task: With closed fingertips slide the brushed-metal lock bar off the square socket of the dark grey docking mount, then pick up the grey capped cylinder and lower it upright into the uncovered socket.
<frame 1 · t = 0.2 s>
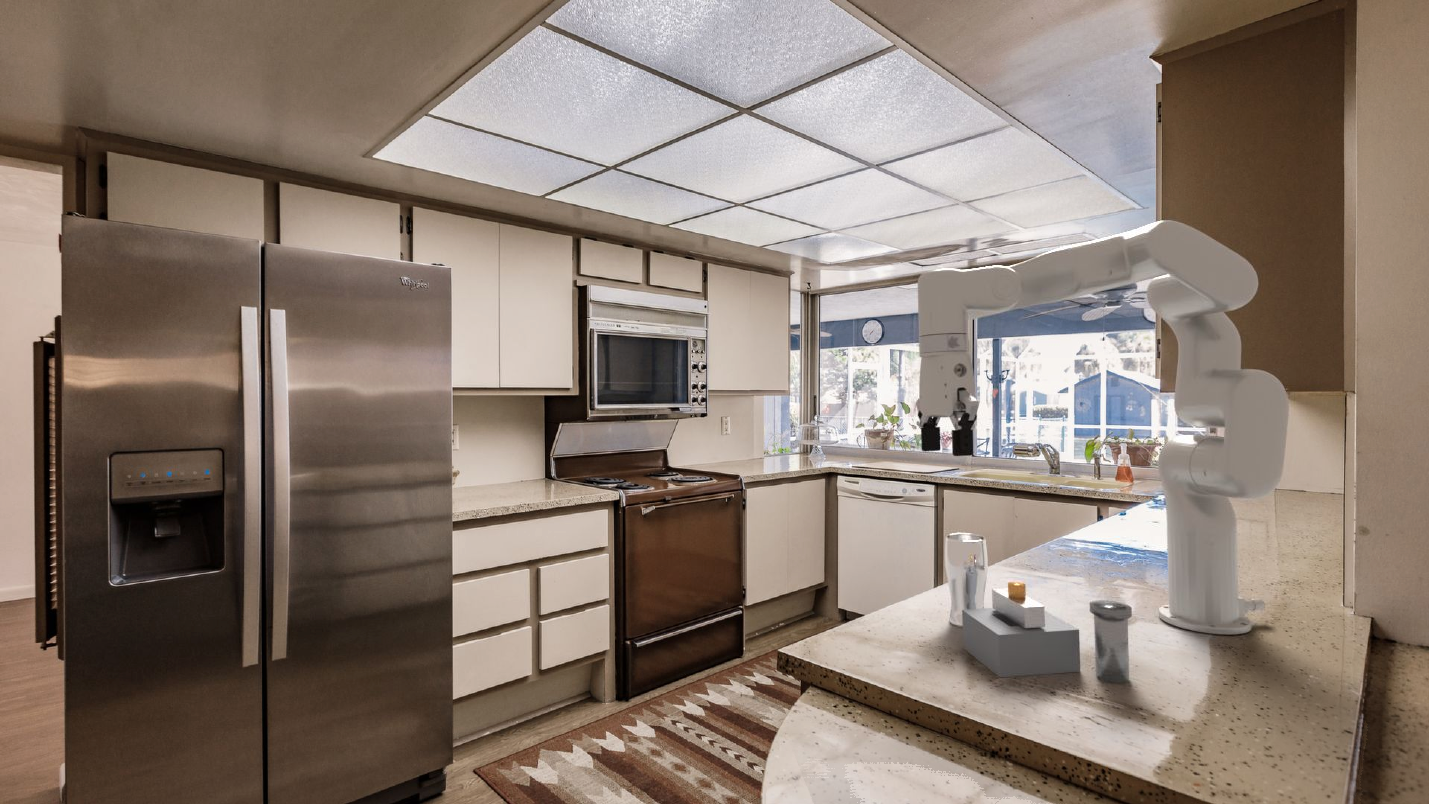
hand: (946, 453, 106), 31 cm above the worktop, fingers open, 9 cm apart
mount: (1018, 659, 98), on the worktop
grey capped cylinder: (1112, 677, 91), on the worktop
beer glass: (968, 623, 114), on the worktop
lock bar: (1017, 600, 98), point 9 cm above the worktop, slide at 0.0 cm
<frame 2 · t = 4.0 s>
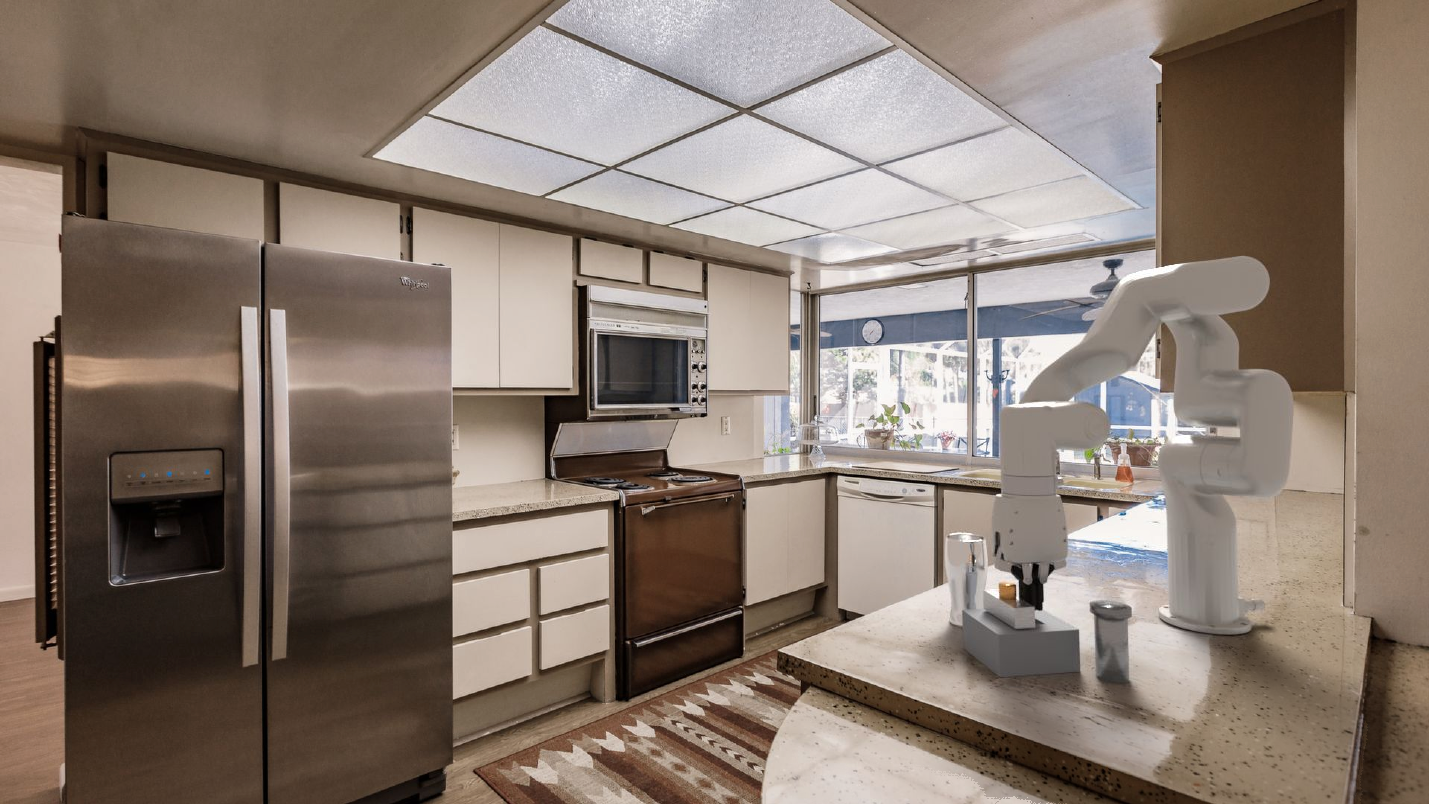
hand: (1031, 607, 98), 8 cm above the worktop, fingers closed
lock bar: (1007, 601, 98), point 9 cm above the worktop, slide at 1.5 cm, touching gripper
everything else where it was.
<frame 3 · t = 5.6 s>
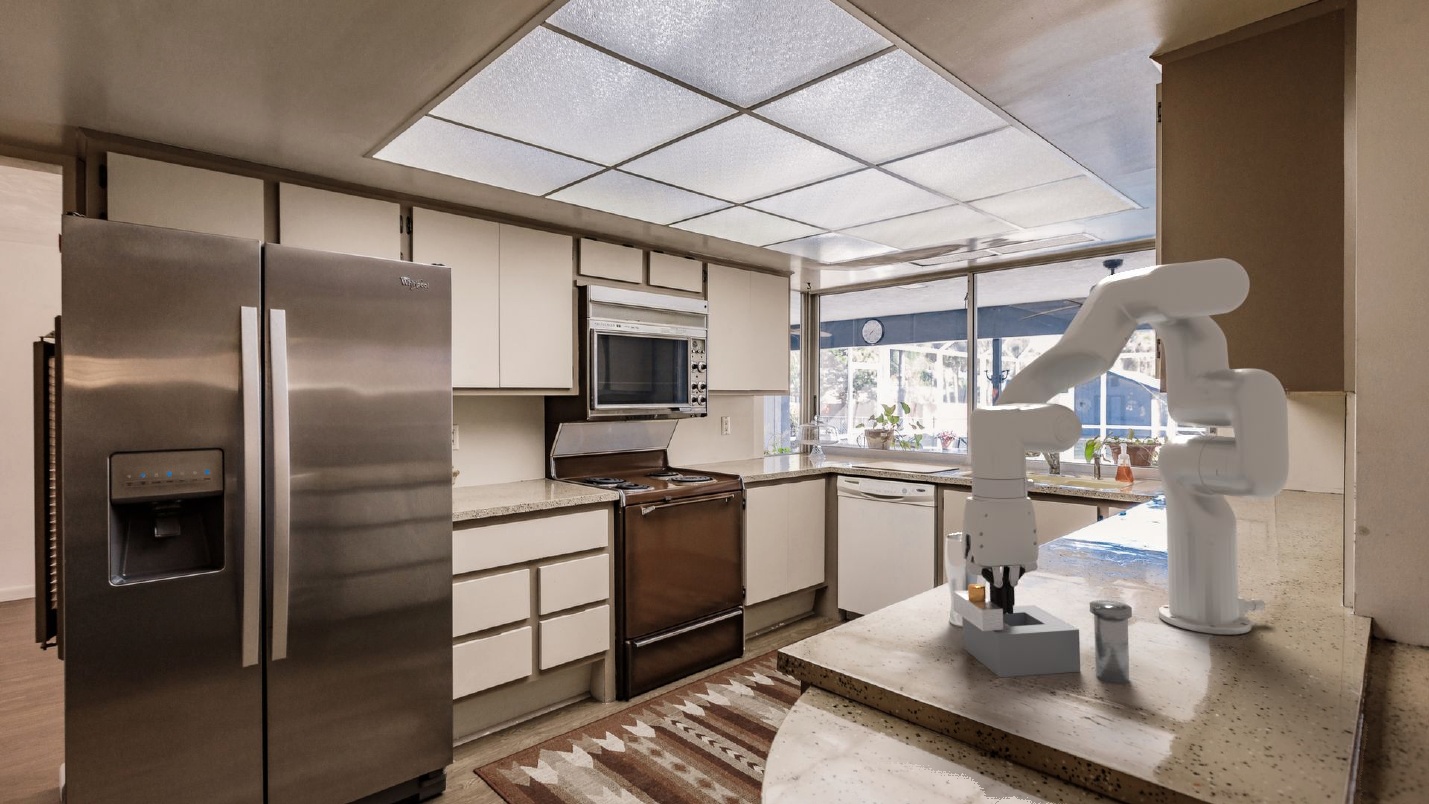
hand: (1002, 610, 98), 7 cm above the worktop, fingers closed
lock bar: (977, 603, 97), point 9 cm above the worktop, slide at 6.3 cm
everything else where it was.
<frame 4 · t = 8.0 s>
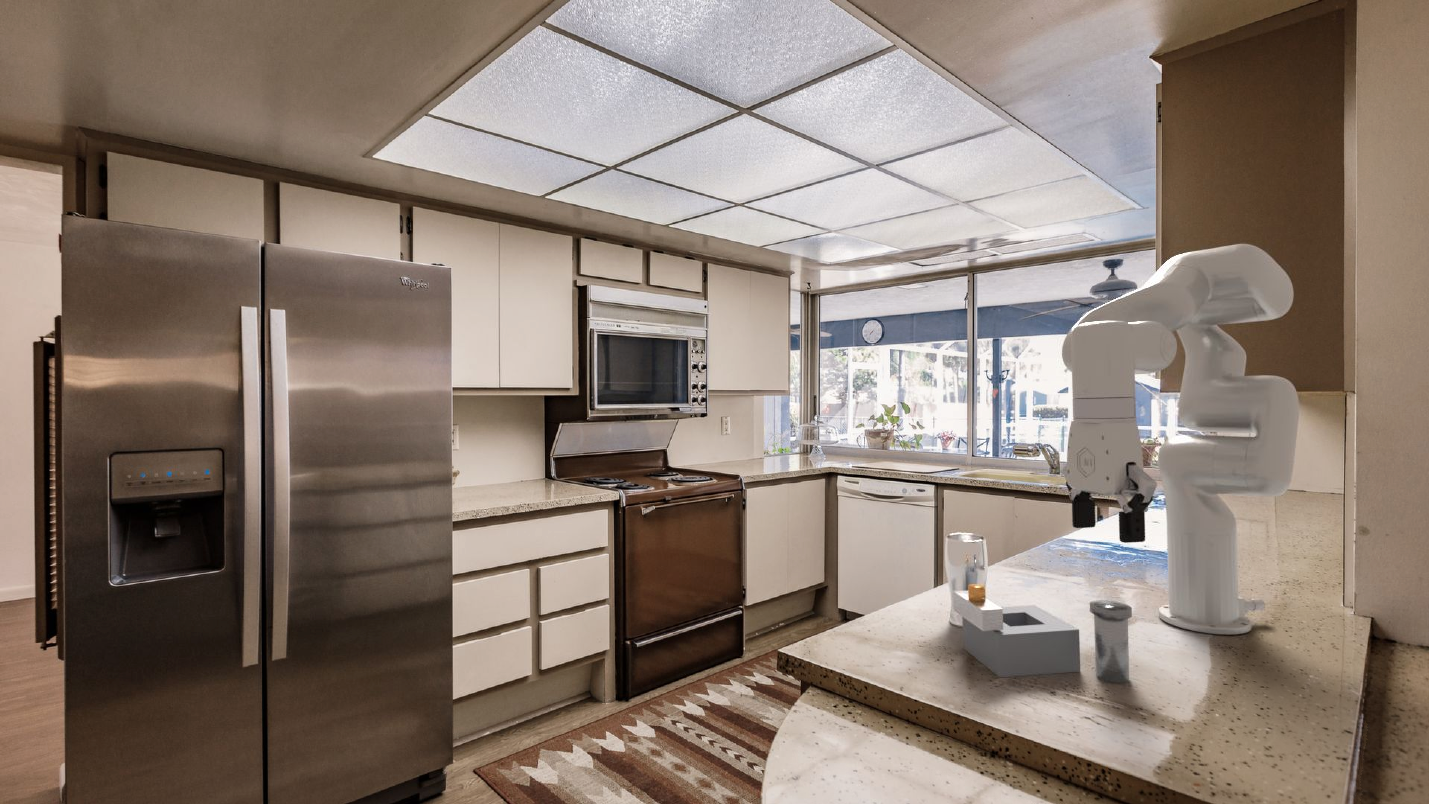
hand: (1106, 534, 91), 20 cm above the worktop, fingers open, 9 cm apart
nothing on the worktop moved.
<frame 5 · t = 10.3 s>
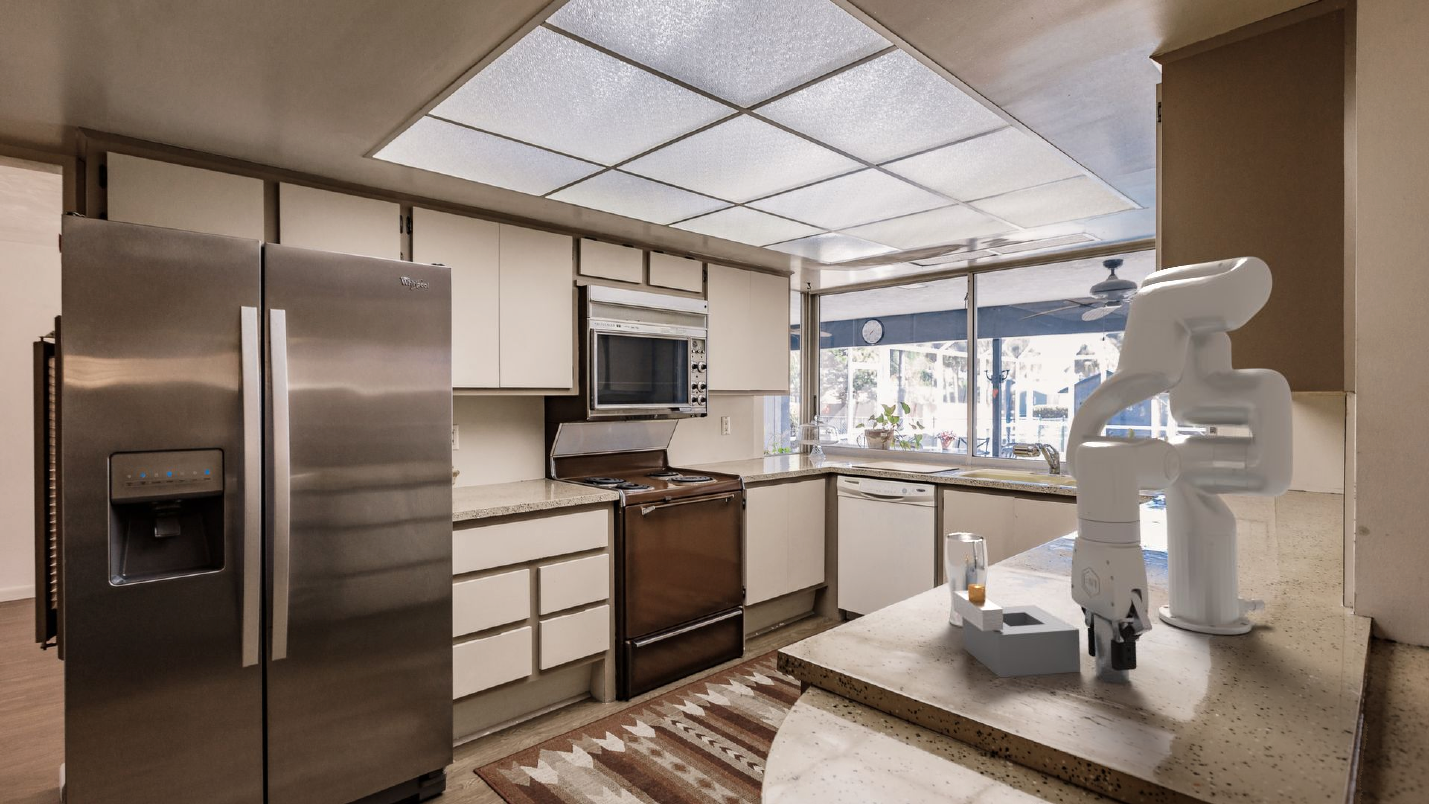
hand: (1111, 660, 91), 2 cm above the worktop, fingers closed on grey capped cylinder, 4 cm apart
grey capped cylinder: (1112, 677, 91), on the worktop, touching gripper
everything else where it was.
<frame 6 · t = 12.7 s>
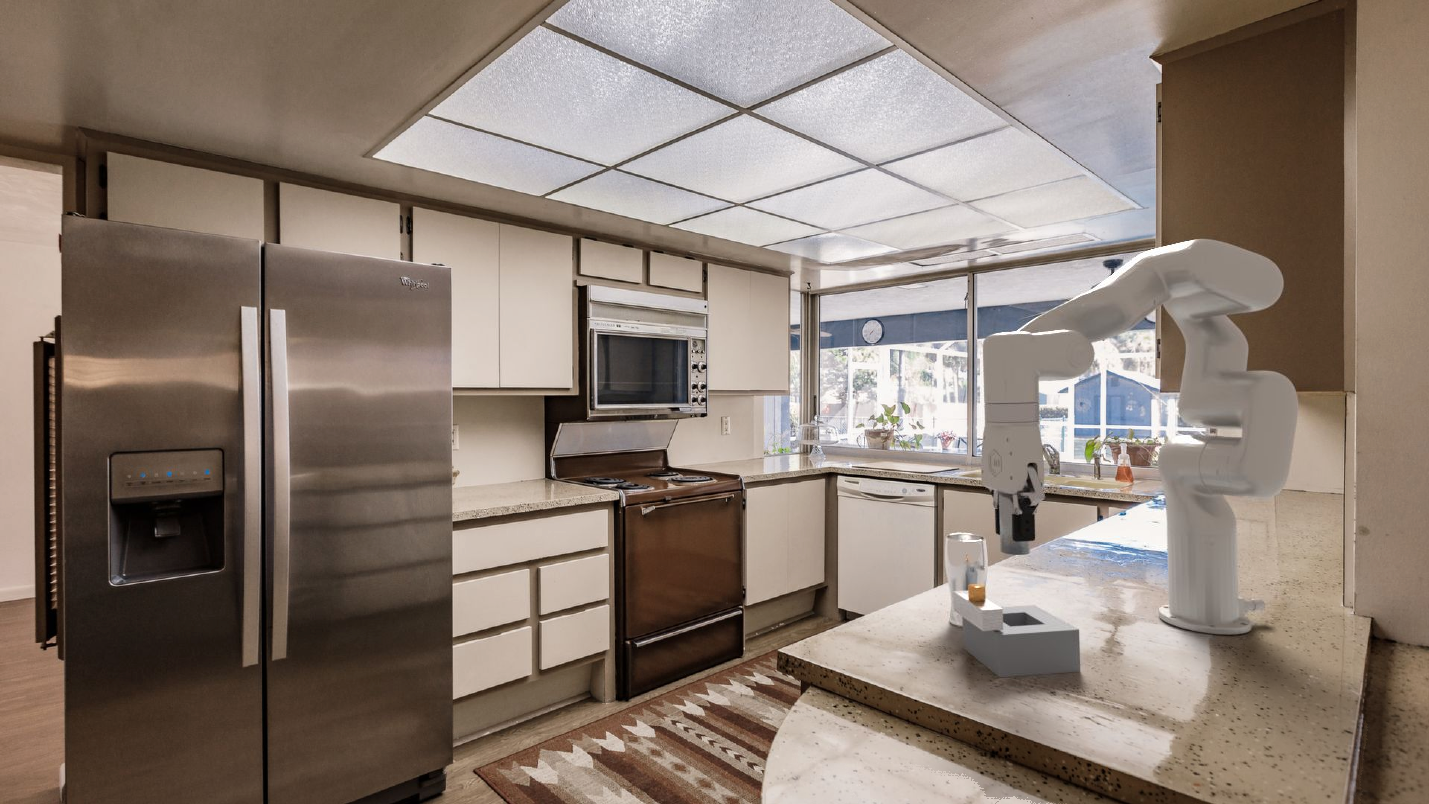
hand: (1014, 536, 98), 18 cm above the worktop, fingers closed on grey capped cylinder, 4 cm apart
grey capped cylinder: (1015, 551, 98), point 16 cm above the worktop, touching gripper
everything else where it was.
when the fingers open (6 cm above the worktop, at t = 15.1 s): grey capped cylinder drops 3 cm, resting on mount.
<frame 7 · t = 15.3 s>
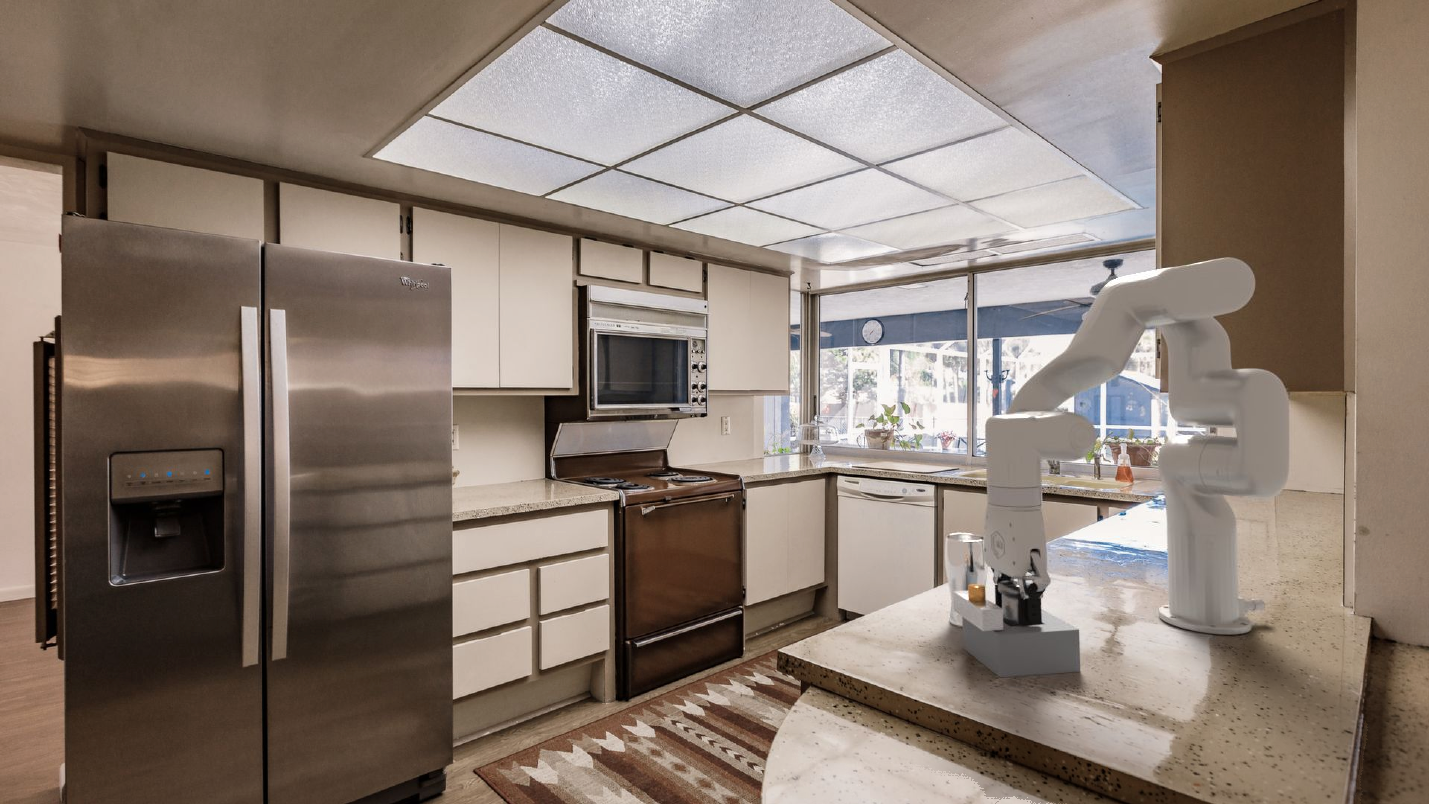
hand: (1017, 616, 98), 6 cm above the worktop, fingers open, 5 cm apart
grey capped cylinder: (1017, 651, 98), point 1 cm above the worktop, touching gripper, mount
everything else where it was.
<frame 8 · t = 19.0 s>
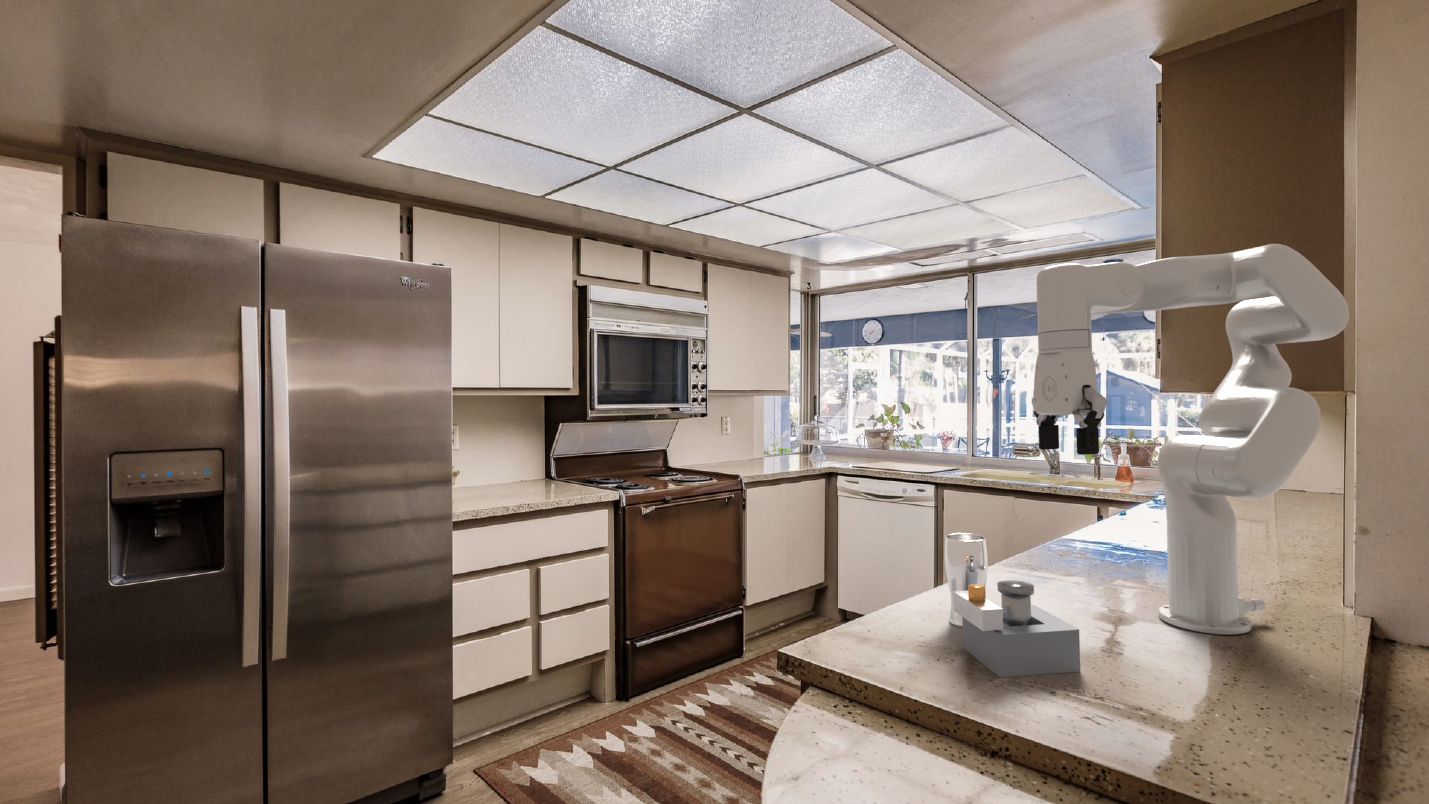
hand: (1067, 451, 104), 30 cm above the worktop, fingers open, 9 cm apart
grey capped cylinder: (1017, 651, 98), point 1 cm above the worktop, touching mount
everything else where it was.
at the end: grey capped cylinder 0.4 cm off-centre on the mount, point 1.0 cm above the mount's base; grey capped cylinder tilted 1°; lock bar slide at 6.3 cm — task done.
